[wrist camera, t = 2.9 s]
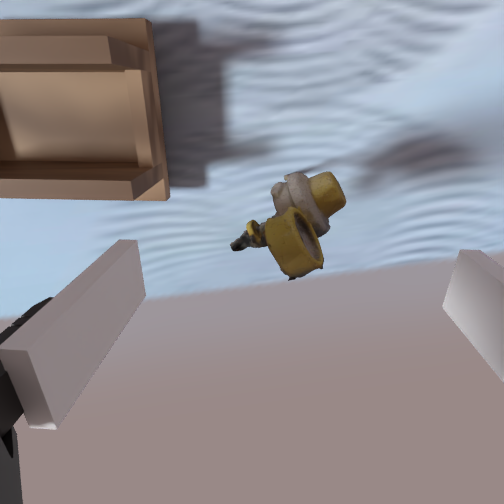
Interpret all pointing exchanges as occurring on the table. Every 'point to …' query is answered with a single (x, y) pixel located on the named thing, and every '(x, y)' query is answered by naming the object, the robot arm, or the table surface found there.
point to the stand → (80, 111)
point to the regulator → (296, 222)
